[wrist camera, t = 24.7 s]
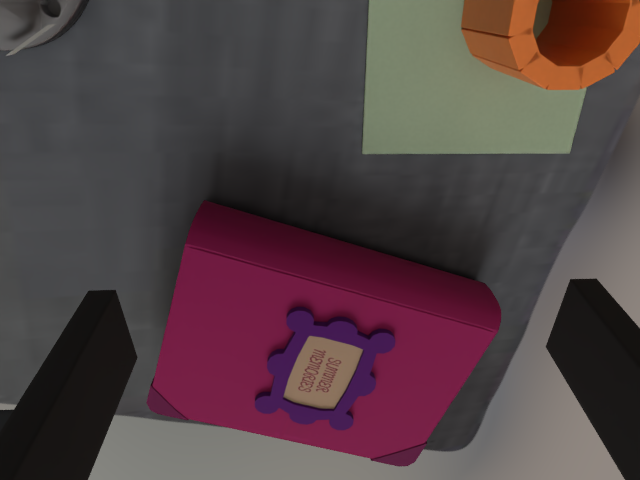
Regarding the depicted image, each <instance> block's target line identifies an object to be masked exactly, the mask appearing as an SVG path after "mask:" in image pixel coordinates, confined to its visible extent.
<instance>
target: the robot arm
mask: <svg viewBox="0 0 640 480" xmlns="http://www.w3.org/2000/svg"><path fill="white" fill-rule="evenodd" d="M87 3H88V0H0V51H11V52H10V53H8V54H7V55H6V56H8V55H14V54H15V53H16V52H18V51H19V50H21V49H27V48H32V47H37V46H40V45H44V44H46V43H49V42H51V41H53V40H55V39H57V38H58V37H60V36H61V35H63V34H64V33H65V32H67V31H68V30H69V29H70V28H71V27H72V26H73V25H74V24H75V22H76V21H77V20H78V19H79V17H80V16H81V14H82V12H83V11H84V9H85V7H86V5H87ZM12 50H13V51H12ZM546 348H547V350H548V351H549V353H550V355H551V356H552V358H553V360H554V361H555V363H556V365H557V367H558V368H559V370H560V372H561V373H562V375H563V377H564V378H565V380H566V382H567V383H568V385H569V387H570V388H571V390H572V392H573V393H574V395H575V396H576V398H577V400H578V402H579V403H580V405H581V407H582V408H583V410H584V412H585V413H586V415H587V417H588V418H589V420H590V422H591V423H592V425H593V427H594V428H595V430H596V432H597V433H598V435H599V437H600V438H601V440H602V442H603V443H604V445H605V447H606V448H607V450H608V452H609V454H610V455H611V457H612V459H613V460H614V462H615V464H616V465H617V467H618V469H619V470H620V472H621V474H622V475H623V477H624V479H625V480H640V328H639V327H638V326H637V325H636V324H635V322H634V321H633V320H632V319H631V318H630V317H629V316H628V314H627V313H626V312H625V311H624V310H623V309H622V307H621V306H620V305H619V304H618V303H617V302H616V301H615V299H614V298H613V297H612V296H611V295H610V294H609V293H608V291H607V290H606V289H605V288H604V287H603V286H602V285H601V283H600V282H599V281H598V280H597V279H570V282H569V285H568V287H567V290H566V293H565V296H564V298H563V301H562V304H561V307H560V309H559V312H558V315H557V317H556V320H555V323H554V326H553V328H552V331H551V334H550V337H549V339H548V342H547V345H546ZM136 360H137V355H136V352H135V348H134V345H133V342H132V339H131V336H130V333H129V330H128V327H127V324H126V321H125V318H124V314H123V311H122V308H121V305H120V302H119V299H118V296H117V293H116V290H100V291H88V293H87V294H86V296H85V297H84V299H83V301H82V302H81V304H80V305H79V307H78V308H77V310H76V312H75V313H74V315H73V316H72V318H71V320H70V321H69V323H68V324H67V326H66V328H65V329H64V331H63V332H62V334H61V336H60V337H59V339H58V340H57V342H56V344H55V345H54V347H53V348H52V350H51V352H50V353H49V355H48V356H47V358H46V360H45V361H44V363H43V364H42V366H41V368H40V369H39V371H38V372H37V374H36V376H35V377H34V379H33V380H32V382H31V383H30V385H29V387H28V388H27V390H26V391H25V393H24V395H23V396H22V398H21V399H20V401H19V403H18V404H17V406H16V408H15V409H14V410H0V480H88V478H89V475H90V473H91V471H92V468H93V466H94V463H95V461H96V458H97V456H98V453H99V451H100V448H101V446H102V444H103V441H104V439H105V436H106V434H107V431H108V429H109V426H110V424H111V421H112V419H113V416H114V414H115V412H116V409H117V407H118V404H119V402H120V399H121V397H122V394H123V392H124V389H125V387H126V385H127V382H128V380H129V377H130V375H131V372H132V370H133V367H134V365H135V362H136Z"/></svg>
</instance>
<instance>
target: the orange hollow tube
mask: <svg viewBox="0 0 640 480" xmlns="http://www.w3.org/2000/svg"><path fill="white" fill-rule="evenodd" d="M539 1H540V0H464V7H463V15H462V23H461V27H462V28H463V29H461V31H462V33H463V36H464V38H465V41H466V43H467V46H468V49H469V51H470V53H471V54H472V56H474V57H475V58H476V59H478V60H479V61H481V62H482V63H484V64H485V65H487V66H488V67H490V68H491V69H494V70H496V71H499V72H502V73H504V74H507V75H509V76H512V77H515V78H517V79H520V80H522V81H525V82H527V83H530V84H533V85H535V86H538V87H540V88H543V89H547V90H579V89H584V88H585V87H587V86H589V85H591V84H593V83H595V82H597V81H599V80H601V79H603V78H605V77H606V76H608V75H610V74H612V73H614V72H615V70H617V69H618V68H619V67H620V66H621V65H622V64H623V62H624V61H625V60H626V59H627V58H628V56H629V55H630V54H631V53H632V52H633V50H634V49H635V48H636V47H637V46H638V44H639V43H640V0H552V6H551V11H550V16H549V21H548V24H547V25H546V26H545V28H544V29H543V31H542V32H541V33H540V35H539V36H538V37H537V39H535V36H534V33H533V26H534V21H535V16H536V11H537V5H538V2H539ZM614 69H615V70H614Z"/></svg>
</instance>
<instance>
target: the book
mask: <svg viewBox="0 0 640 480" xmlns="http://www.w3.org/2000/svg"><path fill="white" fill-rule="evenodd" d="M500 322H501V309H500V306H499V304H498V301H497V299H496V298H495V296H494V295H493V293H492V291H491V290H490V289H489V288H488V286H487V285H486V284H485V283H482V282H478V281H475V280H472V279H468V278H465V277H462V276H458V275H455V274H451V273H448V272H445V271H441V270H438V269H435V268H431V267H428V266H425V265H421V264H418V263H414V262H411V261H408V260H404V259H401V258H398V257H394V256H391V255H387V254H384V253H381V252H377V251H374V250H371V249H367V248H364V247H361V246H357V245H354V244H350V243H347V242H344V241H340V240H337V239H334V238H330V237H327V236H323V235H320V234H317V233H313V232H310V231H307V230H303V229H300V228H297V227H293V226H290V225H286V224H283V223H280V222H276V221H273V220H270V219H266V218H263V217H259V216H256V215H253V214H249V213H246V212H243V211H239V210H236V209H233V208H229V207H226V206H222V205H219V204H216V203H212V202H209V201H206V200H204V201H203V203H202V204H201V206H200V208H199V209H198V211H197V213H196V215H195V217H194V220H193V222H192V225H191V227H190V230H189V233H188V237H187V240H186V243H185V247H184V252H183V256H182V260H181V265H180V269H179V273H178V278H177V282H176V286H175V291H174V295H173V299H172V304H171V308H170V312H169V317H168V321H167V325H166V329H165V334H164V338H163V342H162V347H161V351H160V355H159V360H158V364H157V368H156V373H155V376H154V379H153V381H152V383H151V386H150V390H149V395H148V399H147V405H148V406H149V408H150V410H151V411H153V412H155V413H157V414H161V415H165V416H170V417H175V418H179V419H184V420H188V419H191V420H196V421H201V422H205V423H210V424H214V425H219V426H224V427H228V428H233V429H237V430H242V431H247V432H251V433H256V434H261V435H265V436H270V437H274V438H279V439H284V440H289V441H293V442H298V443H302V444H307V445H311V446H316V447H320V448H326V449H330V450H334V451H339V452H344V453H348V454H353V455H357V456H362V457H367V458H371V460H372V461H376V462H381V463H385V464H390V465H395V466H408V465H410V464H412V463H414V462H415V461H416V459H417V458H418V456H419V455H420V453H421V452H422V450H423V449H424V447H425V446H426V444H427V442H426V441H427V439H428V438H429V436H430V434H431V433H432V431H433V430H434V428H435V427H436V425H437V424H438V422H439V421H440V419H441V418H442V416H443V415H444V413H445V412H446V410H447V408H448V407H449V405H450V404H451V402H452V401H453V399H454V398H455V396H456V395H457V393H458V392H459V390H460V389H461V387H462V386H463V384H464V383H465V381H466V379H467V378H468V376H469V375H470V373H471V372H472V370H473V369H474V367H475V366H476V364H477V363H478V361H479V360H480V358H481V357H482V355H483V353H484V352H485V350H486V349H487V347H488V346H489V344H490V343H491V341H492V340H493V338H494V337H495V335H496V334H497V332H498V330H499V326H500Z"/></svg>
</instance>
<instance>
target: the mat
mask: <svg viewBox="0 0 640 480" xmlns="http://www.w3.org/2000/svg"><path fill="white" fill-rule="evenodd" d="M551 6H552V0H540V1H539V2H538V5H537V11H536V16H535V21H534V26H533V33H534V36H535V39H537V37H538V36H539V35H540V33H541V32H542V31H543V29H544V28H545V26H546V25H547V24H548V21H549V16H550V11H551ZM463 7H464V0H369V5H368V27H367V49H366V71H365V94H364V116H363V138H362V154H514V153H570V150H571V146H572V142H573V139H574V135H575V131H576V127H577V123H578V120H579V116H580V112H581V108H582V104H583V101H584V97H585V93H586V89H587V87H585V88H584V89H579V90H547V89H543V88H540V87H538V86H535V85H533V84H530V83H527V82H525V81H522V80H520V79H517V78H515V77H512V76H509V75H507V74H504V73H502V72H499V71H496V70H494V69H491V68H490V67H488V66H487V65H485V64H484V63H482V62H481V61H479V60H478V59H476V58H475V57H474V56H472V54H471V53H470V51H469V49H468V46H467V43H466V41H465V38H464V36H463V33H462V31H461V29H463V28H462V27H461V23H462V15H463Z"/></svg>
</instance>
